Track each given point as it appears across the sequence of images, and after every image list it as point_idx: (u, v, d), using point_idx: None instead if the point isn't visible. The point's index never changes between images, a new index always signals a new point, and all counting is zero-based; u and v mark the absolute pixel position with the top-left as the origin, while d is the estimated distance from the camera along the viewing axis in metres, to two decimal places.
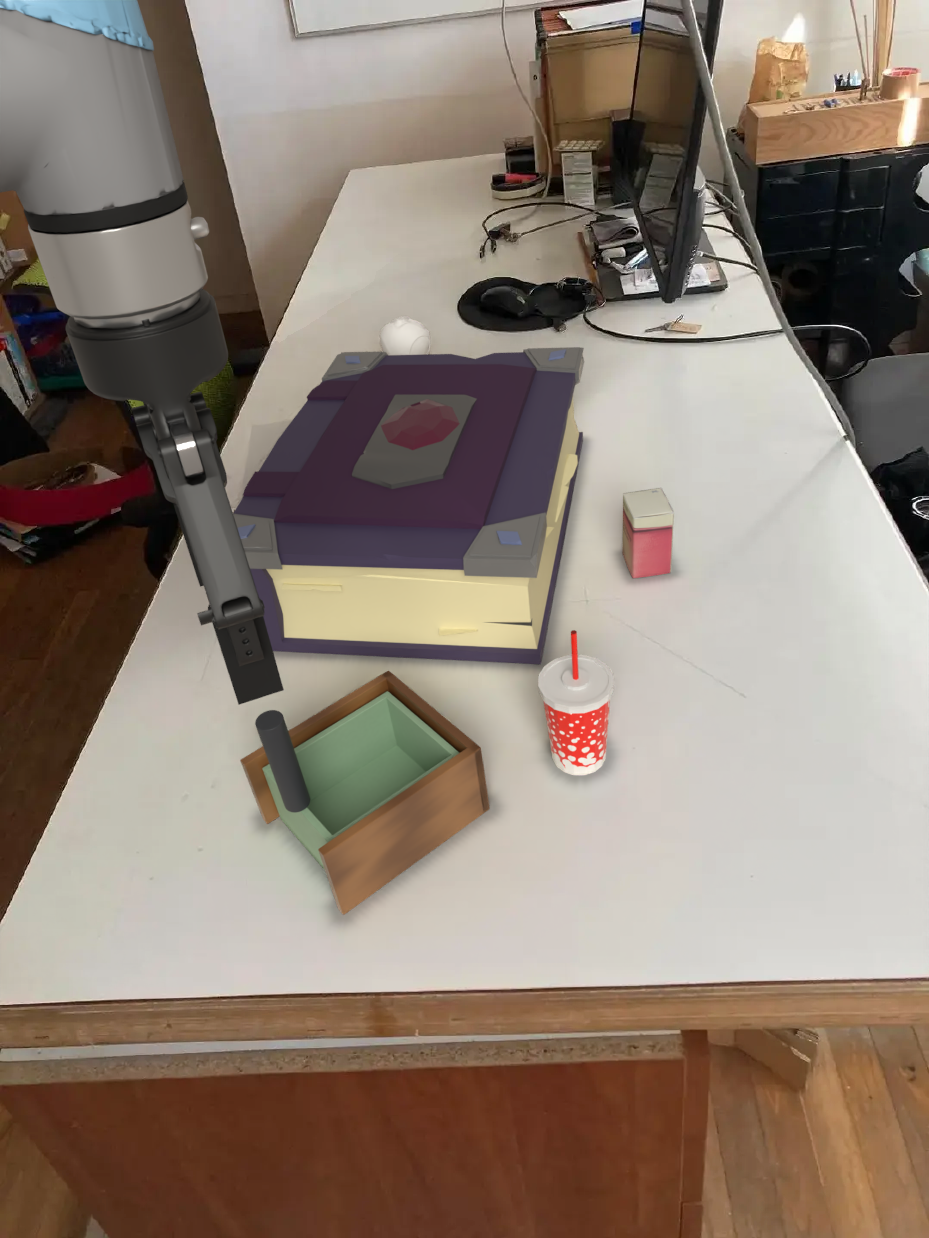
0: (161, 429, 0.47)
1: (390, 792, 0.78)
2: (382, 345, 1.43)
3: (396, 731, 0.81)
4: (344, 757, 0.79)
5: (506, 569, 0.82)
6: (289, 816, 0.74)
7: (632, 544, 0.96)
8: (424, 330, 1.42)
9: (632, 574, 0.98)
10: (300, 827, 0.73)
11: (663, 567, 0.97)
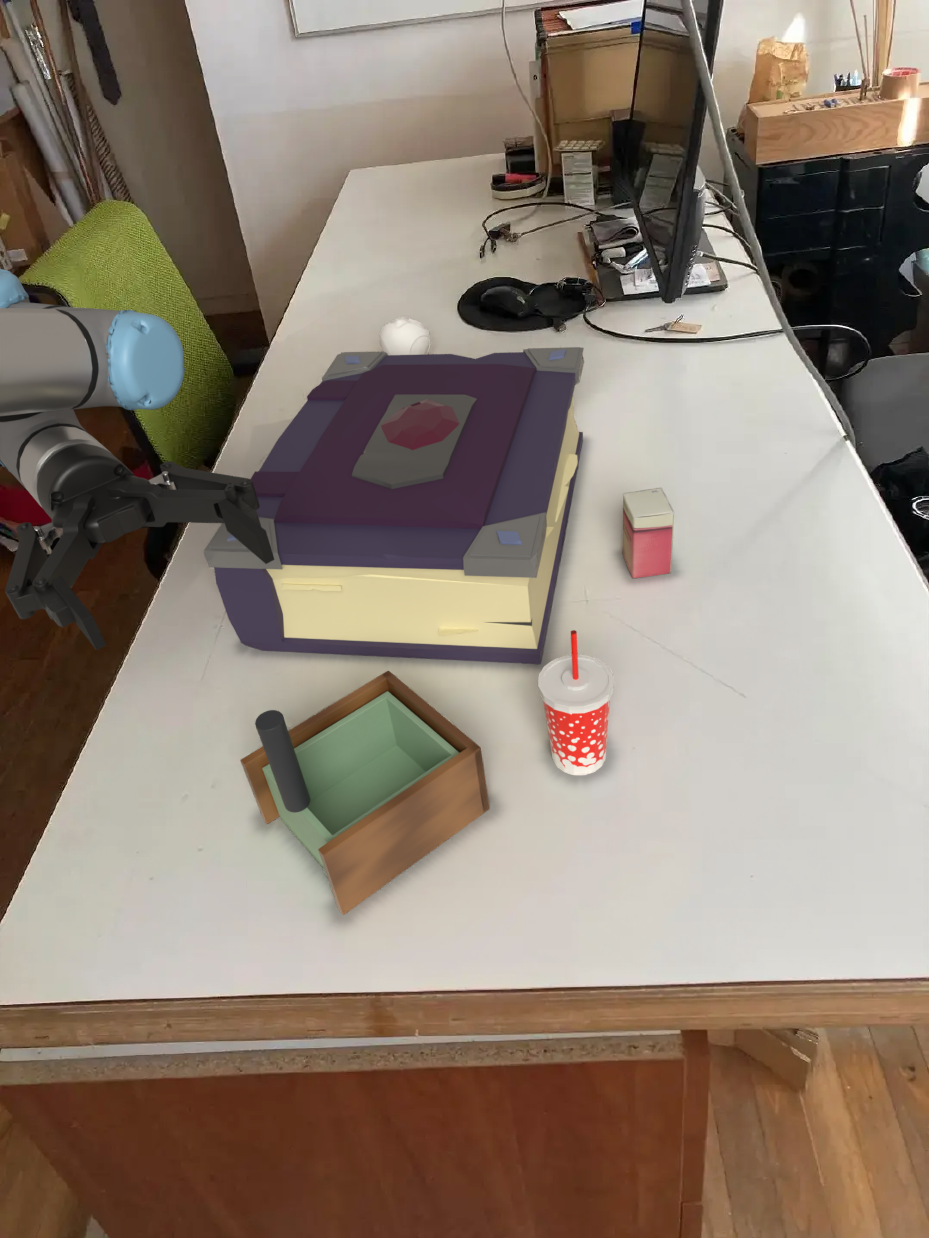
0: None
1: (390, 792, 0.78)
2: (382, 345, 1.43)
3: (396, 731, 0.81)
4: (344, 757, 0.79)
5: (506, 569, 0.82)
6: (289, 816, 0.74)
7: (632, 544, 0.96)
8: (424, 330, 1.42)
9: (632, 574, 0.98)
10: (300, 827, 0.73)
11: (663, 567, 0.97)
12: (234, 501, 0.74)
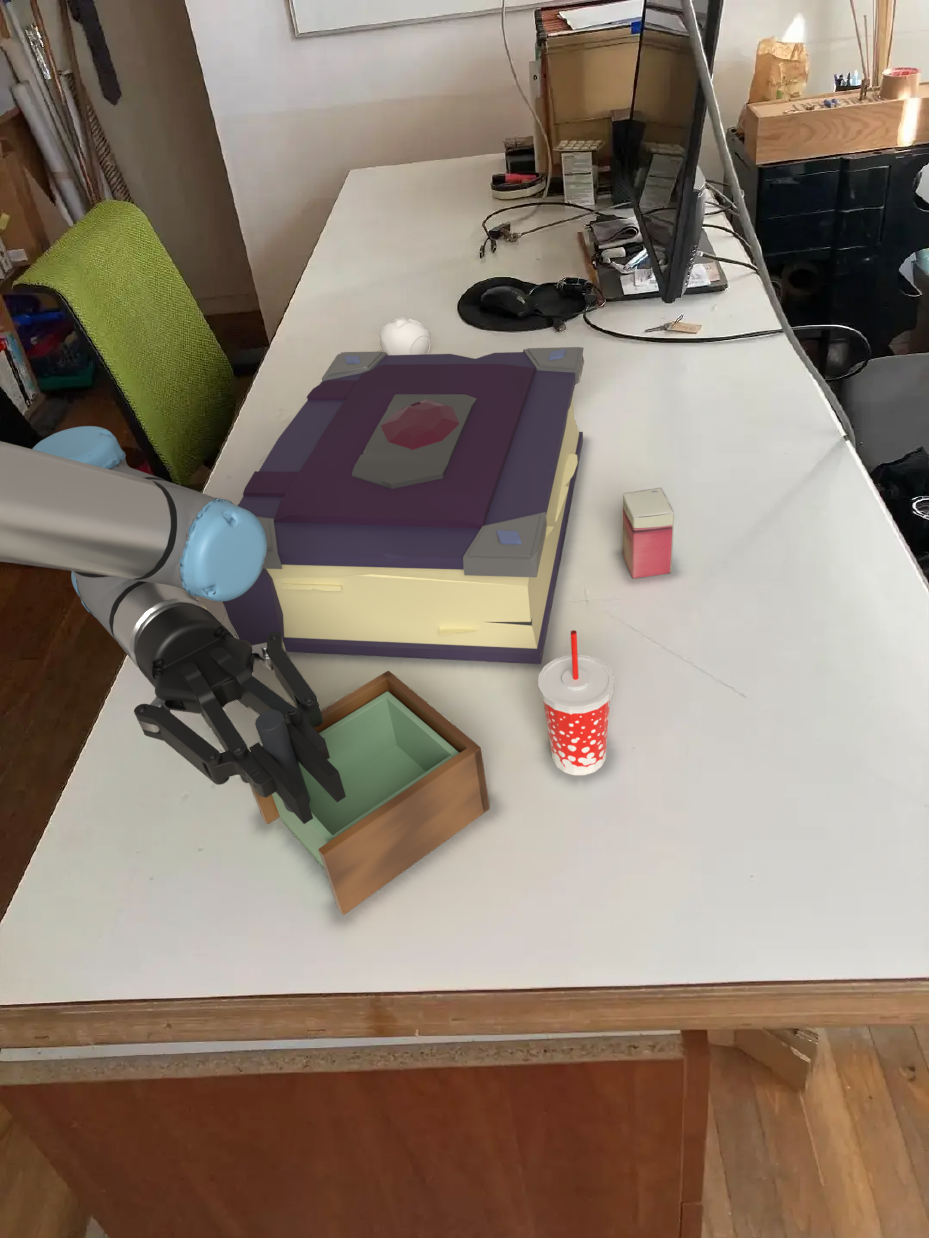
0: (248, 642, 0.76)
1: (390, 792, 0.78)
2: (382, 345, 1.43)
3: (396, 731, 0.81)
4: (344, 757, 0.79)
5: (506, 569, 0.82)
6: (289, 816, 0.74)
7: (632, 544, 0.96)
8: (424, 330, 1.42)
9: (632, 574, 0.98)
10: (300, 827, 0.73)
11: (663, 567, 0.97)
12: (295, 725, 0.69)
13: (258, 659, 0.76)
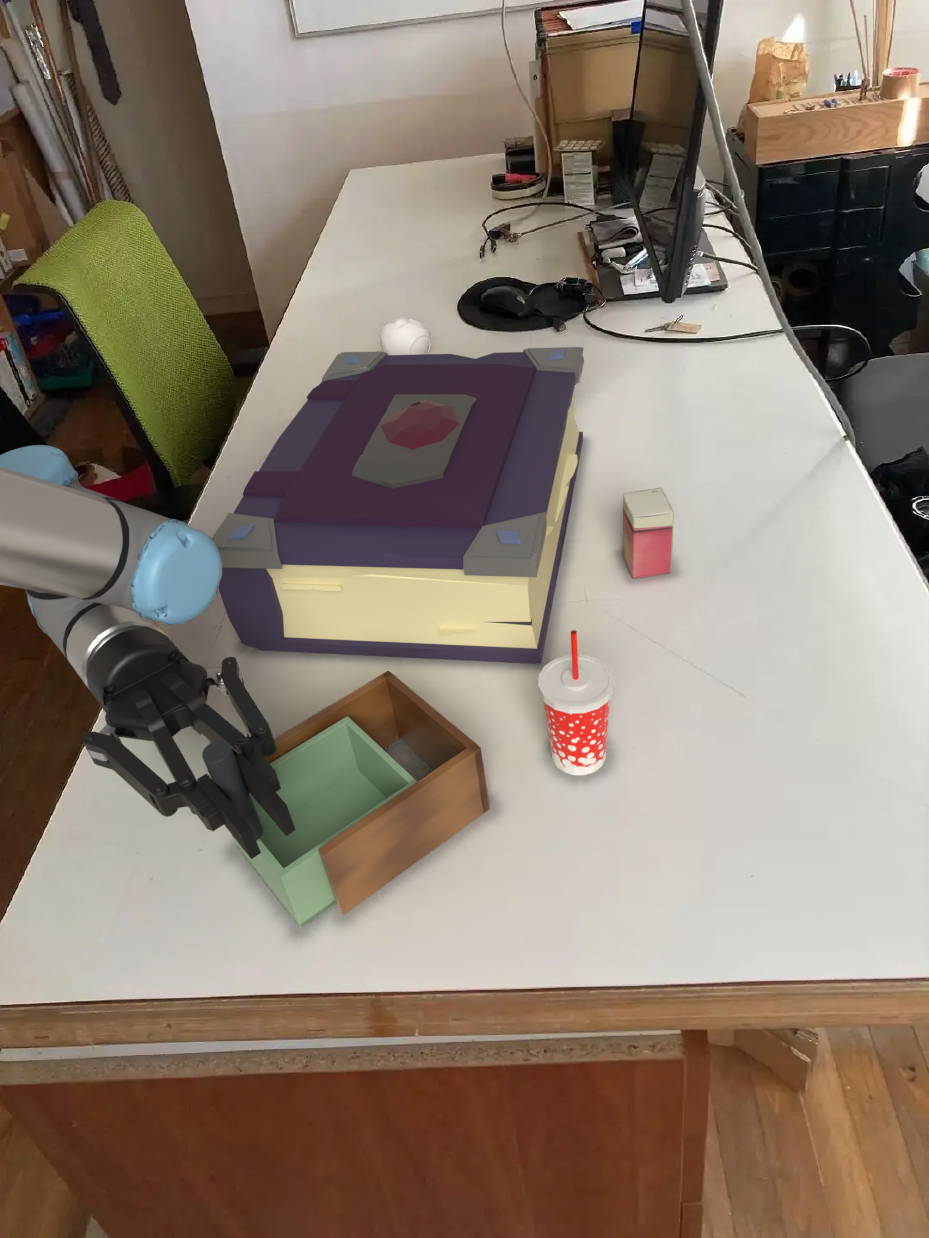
0: (202, 667, 0.75)
1: (349, 820, 0.76)
2: (382, 345, 1.43)
3: (356, 756, 0.79)
4: (302, 783, 0.77)
5: (506, 568, 0.82)
6: None
7: (632, 544, 0.96)
8: (424, 330, 1.42)
9: (632, 574, 0.98)
10: (254, 857, 0.71)
11: (663, 567, 0.97)
12: (245, 755, 0.67)
13: (213, 684, 0.75)
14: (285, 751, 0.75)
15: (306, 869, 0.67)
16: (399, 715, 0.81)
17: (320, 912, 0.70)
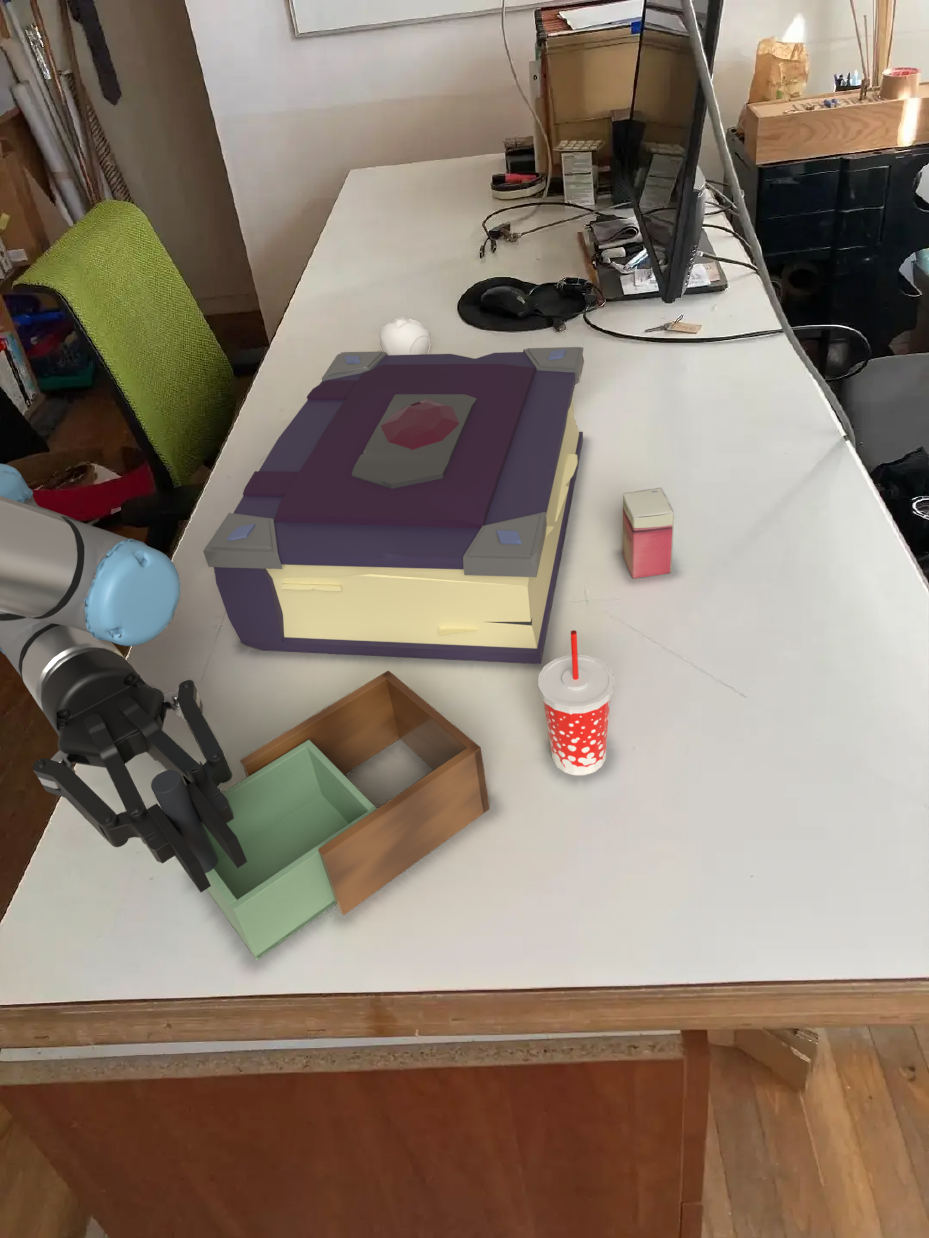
0: (159, 690, 0.73)
1: (310, 846, 0.75)
2: (382, 345, 1.43)
3: (319, 780, 0.77)
4: (262, 808, 0.75)
5: (506, 568, 0.82)
6: None
7: (632, 544, 0.96)
8: (424, 330, 1.42)
9: (632, 574, 0.98)
10: (210, 887, 0.70)
11: (663, 567, 0.97)
12: (198, 784, 0.65)
13: (170, 708, 0.73)
14: (285, 751, 0.75)
15: (260, 900, 0.65)
16: (399, 715, 0.81)
17: (277, 943, 0.69)
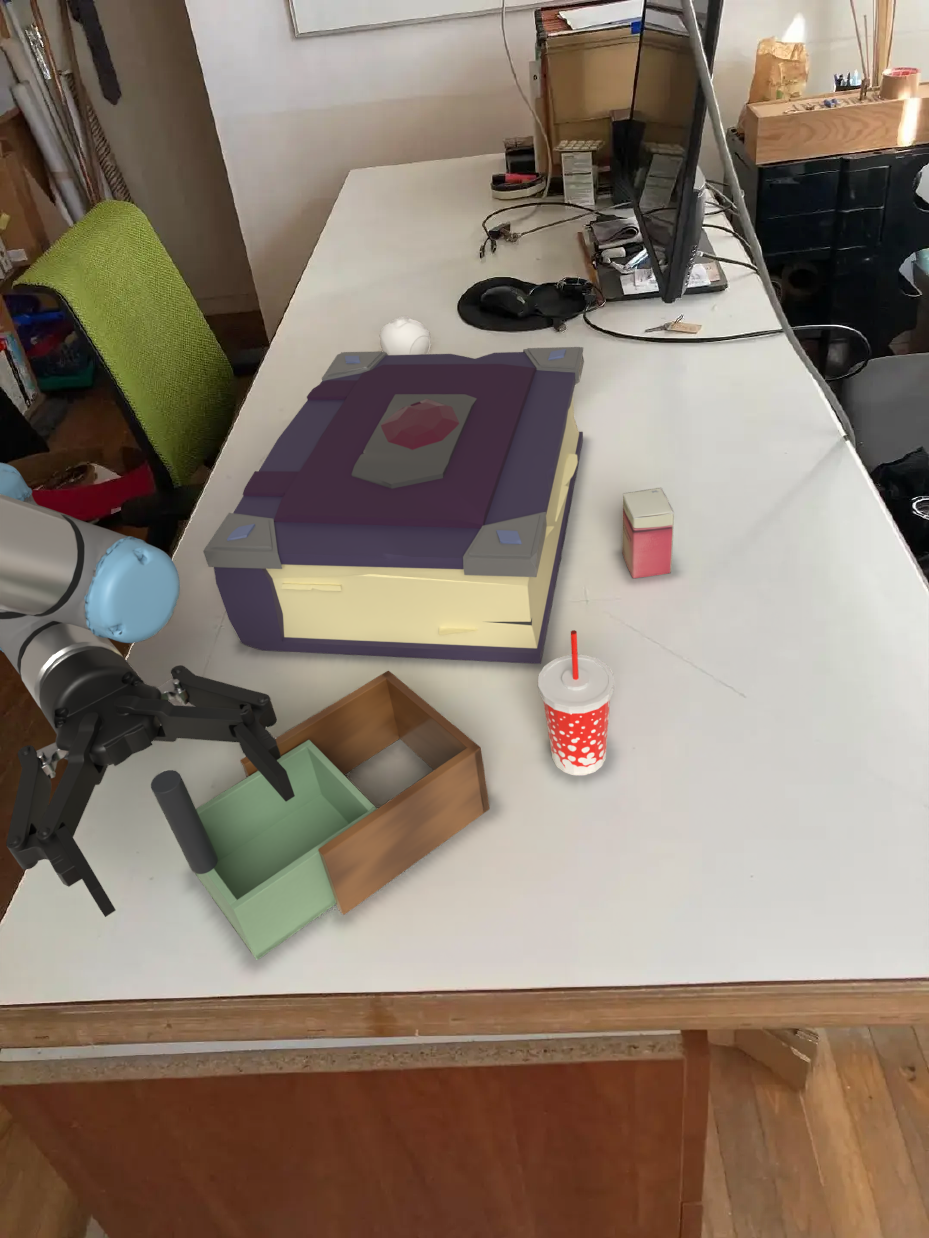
0: (152, 686, 0.74)
1: (310, 846, 0.75)
2: (382, 345, 1.43)
3: (319, 780, 0.77)
4: (262, 808, 0.75)
5: (506, 568, 0.82)
6: (200, 874, 0.71)
7: (632, 544, 0.96)
8: (424, 330, 1.42)
9: (632, 574, 0.98)
10: (210, 887, 0.70)
11: (663, 567, 0.97)
12: (251, 723, 0.69)
13: (170, 698, 0.74)
14: (285, 751, 0.75)
15: (260, 900, 0.65)
16: (399, 715, 0.81)
17: (277, 943, 0.69)
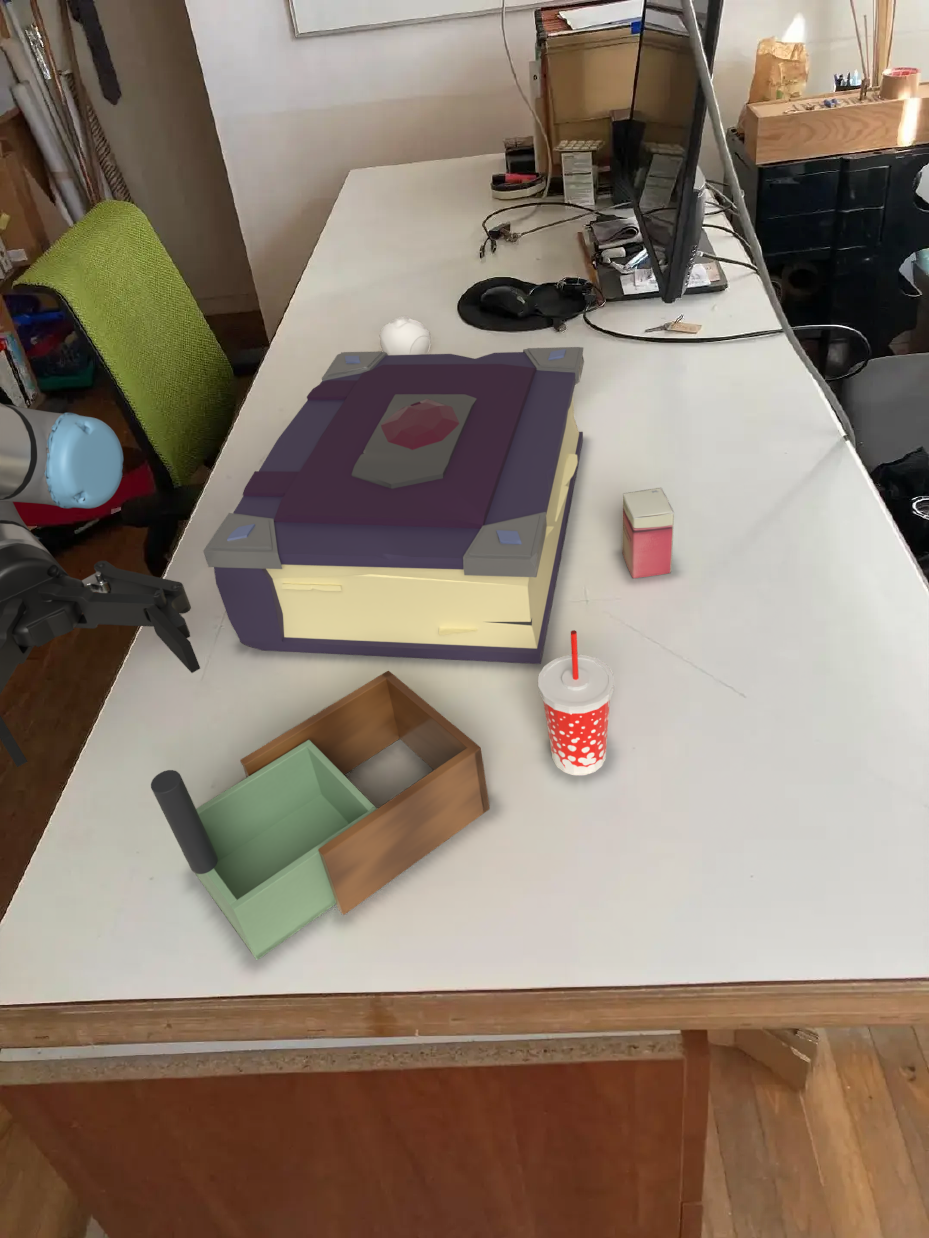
0: None
1: (310, 846, 0.75)
2: (382, 345, 1.43)
3: (319, 780, 0.77)
4: (262, 808, 0.75)
5: (506, 568, 0.82)
6: (200, 874, 0.71)
7: (632, 544, 0.96)
8: (424, 330, 1.42)
9: (632, 574, 0.98)
10: (210, 887, 0.70)
11: (663, 567, 0.97)
12: (164, 607, 0.75)
13: (93, 590, 0.79)
14: (285, 751, 0.75)
15: (260, 900, 0.65)
16: (399, 715, 0.81)
17: (277, 943, 0.69)
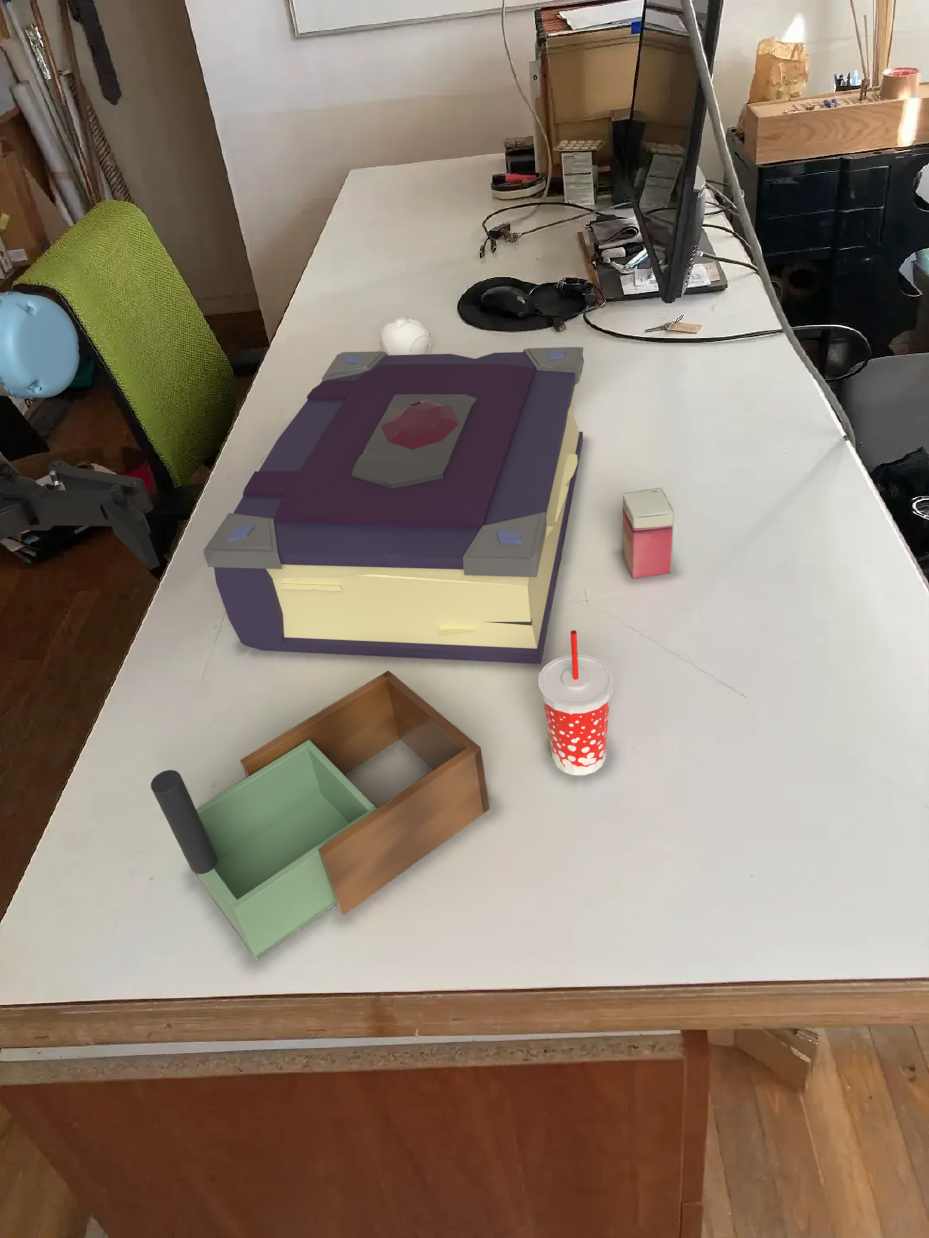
0: None
1: (310, 846, 0.75)
2: (382, 345, 1.43)
3: (319, 780, 0.77)
4: (262, 808, 0.75)
5: (506, 568, 0.82)
6: (200, 874, 0.71)
7: (632, 544, 0.96)
8: (424, 330, 1.42)
9: (632, 574, 0.98)
10: (210, 887, 0.70)
11: (663, 567, 0.97)
12: (122, 503, 0.69)
13: None
14: (285, 751, 0.75)
15: (260, 900, 0.65)
16: (399, 715, 0.81)
17: (277, 943, 0.69)
